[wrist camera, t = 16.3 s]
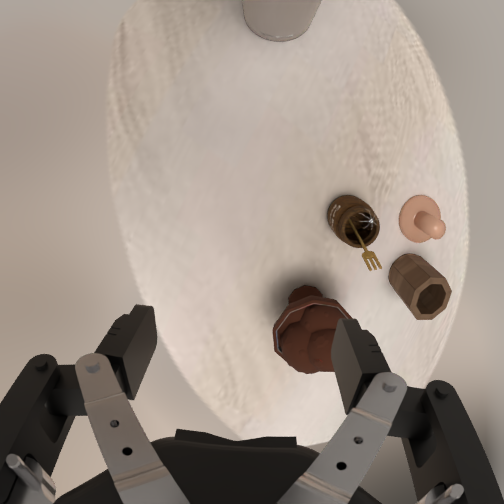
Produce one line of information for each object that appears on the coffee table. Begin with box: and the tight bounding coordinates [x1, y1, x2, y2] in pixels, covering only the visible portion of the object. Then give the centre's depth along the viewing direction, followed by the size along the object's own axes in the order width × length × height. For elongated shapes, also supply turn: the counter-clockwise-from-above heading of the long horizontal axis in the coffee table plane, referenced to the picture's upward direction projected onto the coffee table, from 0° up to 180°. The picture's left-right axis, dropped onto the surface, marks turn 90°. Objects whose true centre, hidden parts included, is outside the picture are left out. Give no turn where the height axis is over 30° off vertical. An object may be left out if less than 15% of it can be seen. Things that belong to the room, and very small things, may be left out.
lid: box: [399, 195, 446, 243], centre depth 40 cm, size 7×7×6 cm
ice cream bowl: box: [273, 285, 353, 374], centre depth 41 cm, size 11×11×15 cm
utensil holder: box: [328, 195, 382, 271], centre depth 37 cm, size 6×6×12 cm
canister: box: [389, 254, 452, 320], centre depth 41 cm, size 6×6×9 cm
